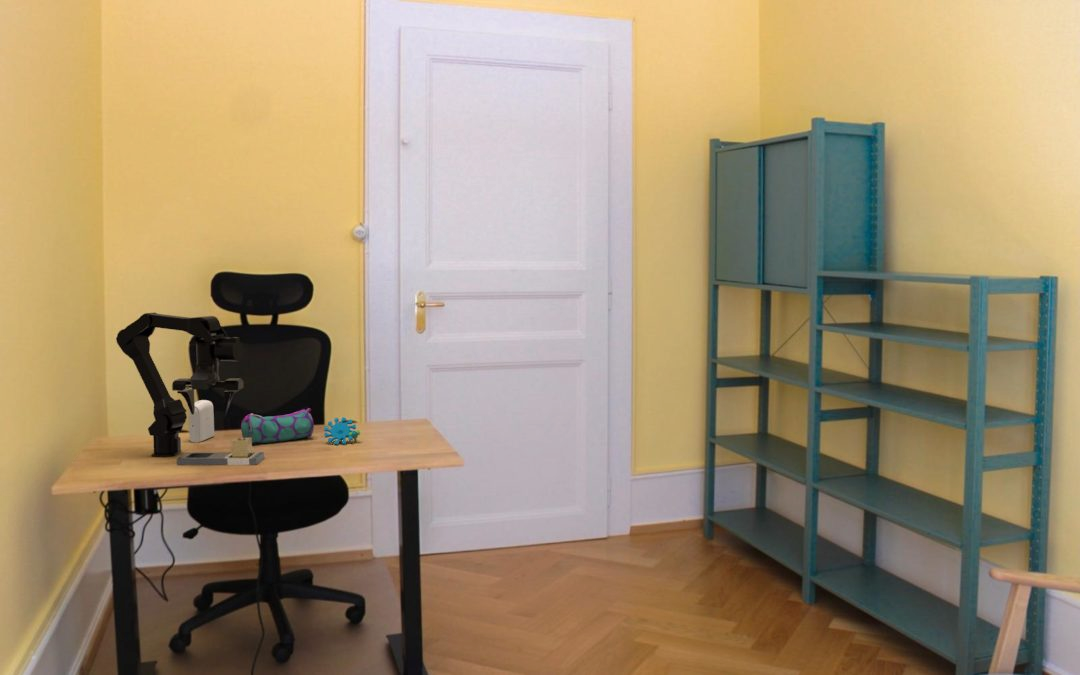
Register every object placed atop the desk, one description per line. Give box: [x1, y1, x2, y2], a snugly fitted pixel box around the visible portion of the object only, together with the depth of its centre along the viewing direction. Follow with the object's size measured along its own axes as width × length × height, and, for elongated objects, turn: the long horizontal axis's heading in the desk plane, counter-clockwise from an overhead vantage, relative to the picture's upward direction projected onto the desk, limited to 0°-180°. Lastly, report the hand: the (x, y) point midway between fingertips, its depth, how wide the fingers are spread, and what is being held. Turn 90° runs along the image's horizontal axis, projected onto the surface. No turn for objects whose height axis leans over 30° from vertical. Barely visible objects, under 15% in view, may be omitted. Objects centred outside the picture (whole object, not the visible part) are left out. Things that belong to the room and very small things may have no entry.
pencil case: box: [240, 407, 315, 445], centre depth 300 cm, size 21×9×10 cm, turn 123°
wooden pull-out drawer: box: [231, 437, 253, 458], centre depth 270 cm, size 4×4×7 cm
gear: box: [323, 416, 361, 446], centre depth 298 cm, size 11×6×10 cm
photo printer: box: [188, 399, 215, 443], centre depth 301 cm, size 10×4×12 cm, turn 172°
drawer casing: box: [176, 451, 265, 466], centre depth 270 cm, size 22×8×2 cm, turn 91°
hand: (209, 414), depth 275 cm, fingers open, 9 cm apart
